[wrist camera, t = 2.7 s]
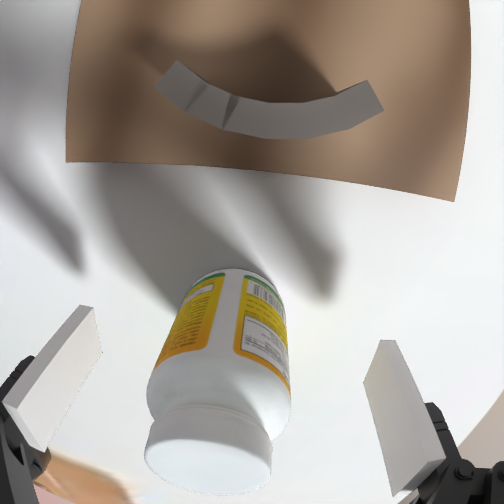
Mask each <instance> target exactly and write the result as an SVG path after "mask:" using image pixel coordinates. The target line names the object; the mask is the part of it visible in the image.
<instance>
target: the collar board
mask: <svg viewBox="0 0 504 504" xmlns="http://www.w3.org/2000/svg"><path fill="white" fill-rule="evenodd" d="M470 79H471V26H470V9H469V0H82V2H81V6H80V11H79V16H78V21H77V27H76V32H75V38H74V45H73V52H72V59H71V67H70V77H69V87H68V100H67V117H66V162H122V163H156V164H178V165H195V166H210V167H223V168H235V169H246V170H256V171H266V172H275V173H284V174H293V175H301V176H309V177H316V178H324V179H331V180H338V181H344V182H351V183H357V184H363V185H369V186H375V187H381V188H387V189H392V190H398V191H403V192H408V193H413V194H418V195H423V196H428V197H433V198H437V199H442V200H447V201H451V202H454V200H455V195H456V191H457V186H458V180H459V175H460V169H461V164H462V157H463V151H464V144H465V137H466V128H467V119H468V109H469V96H470Z"/></svg>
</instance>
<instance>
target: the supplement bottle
mask: <svg viewBox="0 0 504 504" xmlns="http://www.w3.org/2000/svg"><path fill="white" fill-rule="evenodd" d="M146 397H147V404H148V408H149V410H150V413H151V415H152V417H153V418H154V420H155V421H154V422H153V424H152V426H151V428H150V433H149V437H148V440H147V444H146V447H145V452H144V458H145V461H146V463H147V465H148V467H149V468H150V469H151V470H152V471H153V472H154V473H155V474H156V475H157V476H158V477H160V478H161V479H163V480H164V481H166V482H168V483H170V484H172V485H174V486H176V487H179V488H182V489H185V490H188V491H192V492H195V493H200V494H206V495H216V496H230V495H239V494H244V493H249V492H252V491H254V490H257V489H259V488H261V487H262V486H263V485H265V484H266V483H267V481H268V480H269V478H270V475H271V462H272V450H273V447H272V442H271V441H272V440H274V439H275V438H276V437H277V436H278V435H279V434H280V433H281V432H282V430H283V429H284V428H285V426H286V424H287V422H288V419H289V416H290V411H291V393H290V376H289V360H288V344H287V331H286V317H285V309H284V304H283V301H282V299H281V297H280V295H279V293H278V292H277V290H276V289H275V288H274V287H273V286H272V284H271V283H269V282H268V281H267V280H266V279H264V278H263V277H261V276H259V275H258V274H255V273H253V272H250V271H247V270H242V269H233V268H231V269H221V270H216V271H213V272H211V273H209V274H207V275H205V276H204V277H202V278H200V279H199V280H198V281H196V282H195V283H194V284H193V285H192V286H191V288H190V289H189V291H188V292H187V294H186V296H185V298H184V300H183V302H182V305H181V307H180V309H179V311H178V314H177V316H176V318H175V321H174V323H173V325H172V328H171V330H170V332H169V335H168V337H167V339H166V341H165V343H164V346H163V348H162V351H161V353H160V355H159V357H158V360H157V362H156V364H155V367H154V369H153V372H152V374H151V376H150V379H149V382H148V385H147V392H146Z"/></svg>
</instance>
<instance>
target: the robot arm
mask: <svg viewBox="0 0 504 504" xmlns="http://www.w3.org/2000/svg"><path fill="white" fill-rule="evenodd" d="M102 353H103V352H102V348H101V343H100V339H99V334H98V329H97V324H96V319H95V314H94V308H93V307H88V306H83V305H79V306H78V308H77V309H76V310H75V311H74V312H73V313H72V314H71V316H70V317H69V318H68V319H67V320H66V321H65V322H64V324H63V325H62V326H61V327H60V328H59V329H58V331H57V332H56V333H55V334H54V335H53V337H52V338H51V339H50V340H49V341H48V343H47V344H46V345H45V346H44V347H43V349H42V350H41V351H40V352H39V354H38V355H37V356H36V357H34V356H31V355H30V356H28V357H27V358H25V359H24V360H22V361H21V362H20V363H19V364H18V366H17V367H16V368H15V371H13V372H12V373H11V374H10V377H8V378H7V379H6V381H5V382H4V383H3V385H2V386H1V387H0V504H39V502H38V499H37V496H36V492H35V489H34V486H33V481H34V480H36V479H37V478H38V477H39V476H40V475H41V474H42V473H43V472H44V471H45V470H46V468H47V466H48V464H49V462H50V460H51V455H50V452H49V450H48V448H47V447H48V445H49V443H50V441H51V440H52V438H53V436H54V434H55V432H56V430H57V429H58V427H59V425H60V423H61V422H62V420H63V418H64V416H65V414H66V413H67V411H68V409H69V407H70V406H71V404H72V402H73V401H74V399H75V397H76V395H77V394H78V392H79V390H80V389H81V387H82V385H83V384H84V382H85V380H86V379H87V377H88V375H89V374H90V372H91V370H92V369H93V367H94V366H95V364H96V362H97V361H98V359H99V358H100V356H101V354H102ZM363 384H364V387H365V391H366V394H367V398H368V401H369V405H370V408H371V412H372V415H373V419H374V423H375V426H376V430H377V434H378V438H379V442H380V446H381V449H382V453H383V457H384V462H385V466H386V470H387V474H388V478H389V483H390V487H391V491H392V496H393V498H394V497H400V496H405V495H410V494H411V493H412V492H413V491H414V490H415V489H417V488H418V492H419V495H418V496H417V497H416V498H414V500H412V501H411V502H410V503H409V504H504V461H500V462H498V463H496V464H495V465H494V466H493V467H492V468H491V469H487V468H475V467H474V465H473V464H472V463H471V462H469V461H468V460H465V459H462V458H461V456H460V454H459V452H458V449H457V447H456V445H455V442H454V440H453V437H452V435H451V433H450V430H448V426H447V423H446V422H445V419H444V417H443V414H442V412H441V410H440V409H439V408H438V407H437V406H436V405H435V404H434V403H433V402H431V403H424V402H423V399H422V397H421V395H420V392H419V390H418V388H417V386H416V383H415V381H414V379H413V377H412V375H411V372H410V370H409V368H408V366H407V364H406V362H405V360H404V358H403V355H402V353H401V351H400V349H399V347H398V345H397V343H396V341H395V340H380V343H379V345H378V348H377V350H376V353H375V355H374V358H373V360H372V363H371V365H370V368H369V370H368V373H367V375H366V377H365V380H364V382H363Z"/></svg>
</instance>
